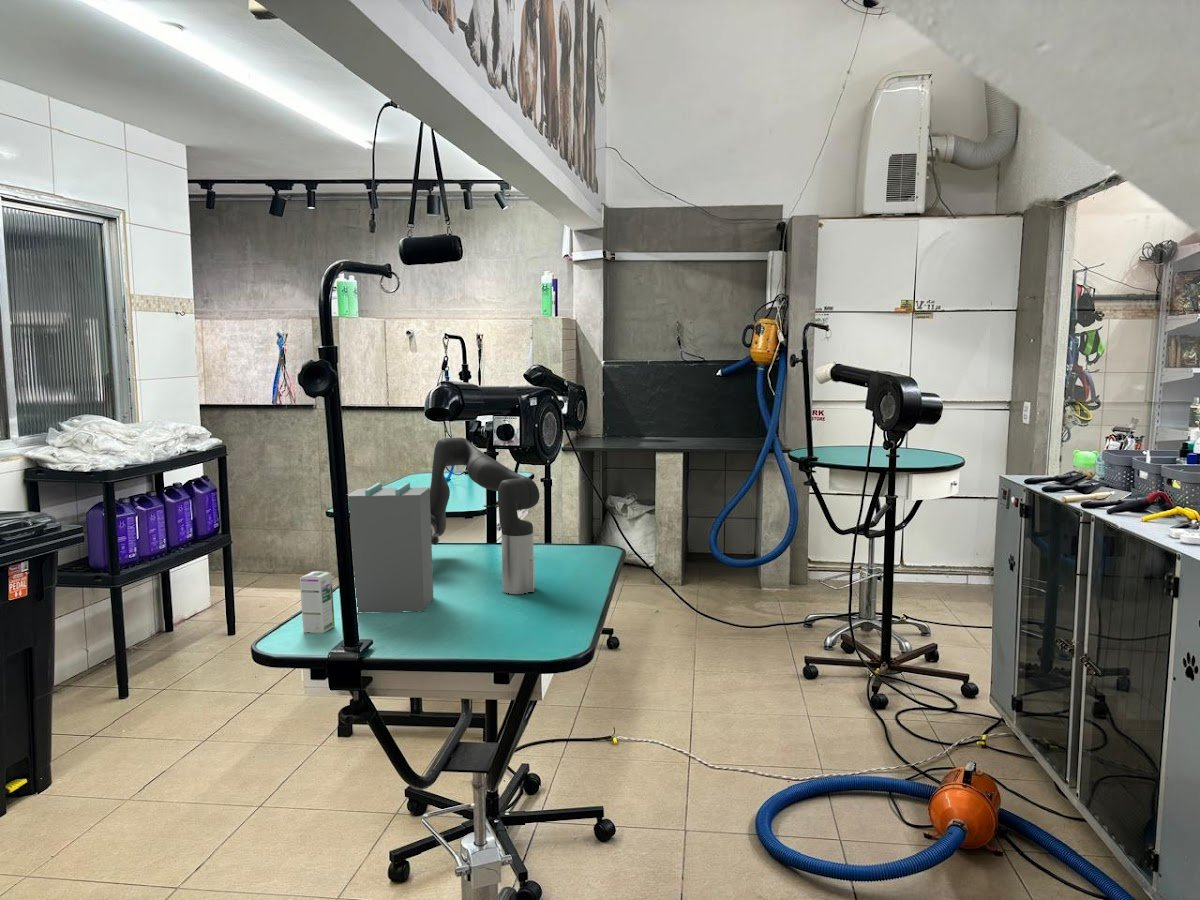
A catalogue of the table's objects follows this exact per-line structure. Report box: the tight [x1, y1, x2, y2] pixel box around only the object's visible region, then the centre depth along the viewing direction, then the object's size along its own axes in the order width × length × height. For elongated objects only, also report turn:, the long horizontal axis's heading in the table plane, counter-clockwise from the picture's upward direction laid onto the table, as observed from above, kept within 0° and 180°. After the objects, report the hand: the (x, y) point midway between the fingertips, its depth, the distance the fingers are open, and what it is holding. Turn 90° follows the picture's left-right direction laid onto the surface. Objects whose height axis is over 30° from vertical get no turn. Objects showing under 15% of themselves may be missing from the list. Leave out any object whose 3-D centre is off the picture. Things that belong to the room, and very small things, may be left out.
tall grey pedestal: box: [347, 482, 434, 614], centre depth 234 cm, size 20×14×34 cm
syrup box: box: [299, 570, 336, 634], centre depth 214 cm, size 6×6×14 cm
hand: (411, 544), depth 262 cm, fingers open, 8 cm apart
